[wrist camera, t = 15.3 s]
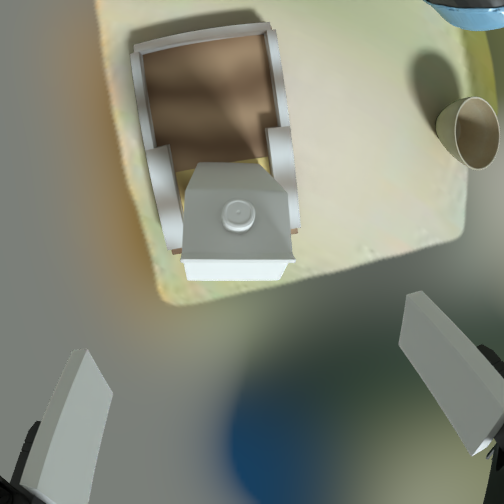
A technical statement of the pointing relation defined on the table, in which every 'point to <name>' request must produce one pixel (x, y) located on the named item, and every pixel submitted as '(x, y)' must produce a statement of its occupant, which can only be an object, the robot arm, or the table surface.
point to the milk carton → (235, 224)
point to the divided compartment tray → (212, 112)
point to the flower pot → (470, 132)
